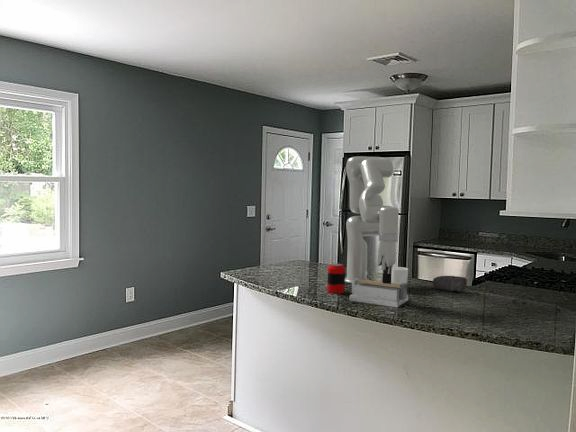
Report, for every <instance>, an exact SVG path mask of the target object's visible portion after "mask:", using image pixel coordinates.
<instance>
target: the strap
mask: <svg viewBox="0 0 576 432" xmlns="http://www.w3.org/2000/svg"><path fill="white" fill-rule="evenodd" d="M358 282H359V283H367V284H376V285H385V286H394V287H400V285H401V284H399V283H390V284H387V283H382V281H378V280H362V279H358V280H356V283H358Z"/></svg>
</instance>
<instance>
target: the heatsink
mask: <svg viewBox="0 0 576 432" xmlns="http://www.w3.org/2000/svg"><path fill="white" fill-rule="evenodd" d="M356 280H358V278H355V279H353V280H352V283H351V294H350V295H349V301H352V302H358V303H363V304H364V303H365V304H371V305H377V306H384V307H392V308H399V307H401V306H402V305H403V304H405V303H406V302H408V301H409V295H408V282H407V283H403V284H401V285H400V287H394V286H385V285H376V284H367V283H359V284H358V283H356Z"/></svg>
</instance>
